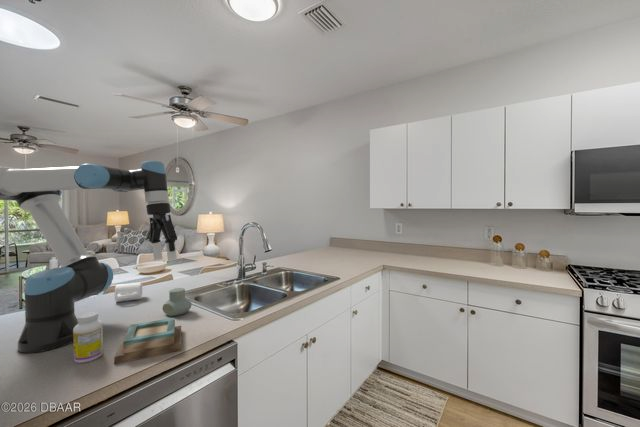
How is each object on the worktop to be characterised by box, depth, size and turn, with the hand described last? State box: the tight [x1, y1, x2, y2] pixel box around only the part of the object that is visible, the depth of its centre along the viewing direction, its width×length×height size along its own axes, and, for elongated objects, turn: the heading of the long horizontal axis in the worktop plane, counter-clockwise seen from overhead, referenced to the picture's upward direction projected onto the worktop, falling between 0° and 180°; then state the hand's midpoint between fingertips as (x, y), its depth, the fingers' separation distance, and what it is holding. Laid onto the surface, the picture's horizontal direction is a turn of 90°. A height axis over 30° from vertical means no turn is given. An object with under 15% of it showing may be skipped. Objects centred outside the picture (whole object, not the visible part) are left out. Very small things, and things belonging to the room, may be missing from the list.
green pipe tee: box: [162, 287, 193, 317], centre depth 116 cm, size 11×8×10 cm
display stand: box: [113, 317, 182, 365], centre depth 89 cm, size 17×15×6 cm
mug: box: [114, 282, 143, 303], centre depth 131 cm, size 12×10×8 cm
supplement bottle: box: [72, 311, 104, 364], centre depth 82 cm, size 7×7×13 cm
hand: (165, 260), depth 103 cm, fingers open, 13 cm apart
